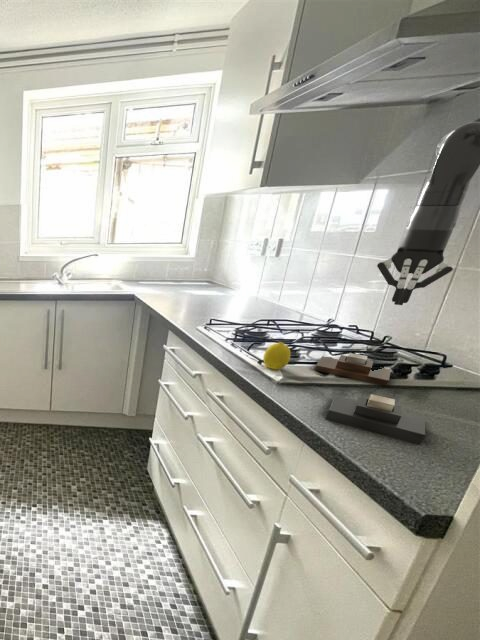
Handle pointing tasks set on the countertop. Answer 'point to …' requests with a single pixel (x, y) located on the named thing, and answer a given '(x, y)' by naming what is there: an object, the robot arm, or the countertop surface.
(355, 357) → the beige square block
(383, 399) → the ivory key
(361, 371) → the brown stepped block
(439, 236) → the robot arm
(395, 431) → the dark grey stepped block
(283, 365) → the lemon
